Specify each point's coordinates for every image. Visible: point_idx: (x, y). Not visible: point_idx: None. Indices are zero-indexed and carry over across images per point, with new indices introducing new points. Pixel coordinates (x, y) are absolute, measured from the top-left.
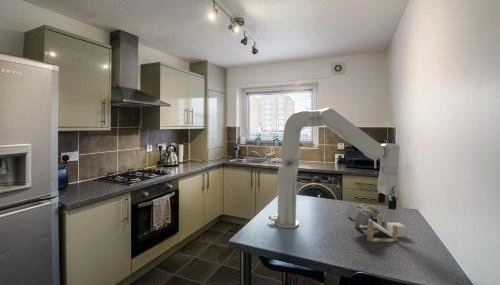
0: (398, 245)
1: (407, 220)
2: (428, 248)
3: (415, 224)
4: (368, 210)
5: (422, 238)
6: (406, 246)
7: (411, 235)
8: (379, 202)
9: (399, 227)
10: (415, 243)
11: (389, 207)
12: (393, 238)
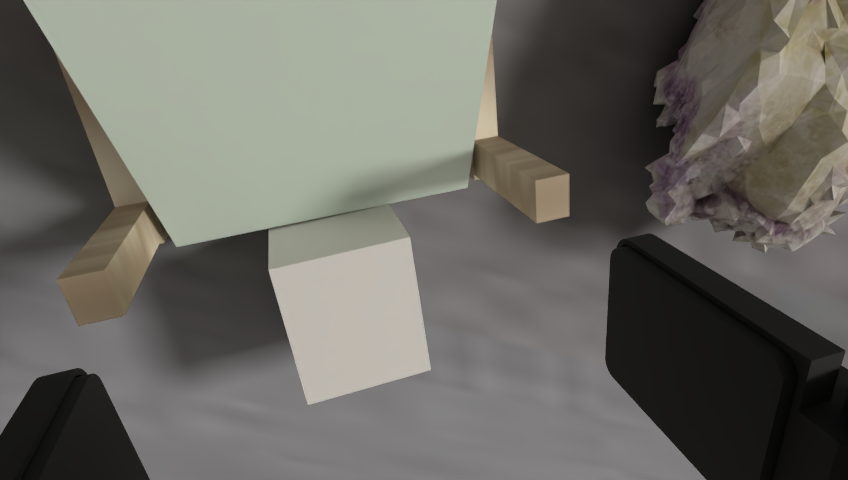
0: (25, 221)
1: None
2: None
3: (588, 463)
4: (751, 96)
5: (303, 455)
6: (35, 293)
7: (350, 393)
8: (610, 260)
9: (291, 341)
10: (160, 385)
11: (25, 414)
12: (117, 209)
